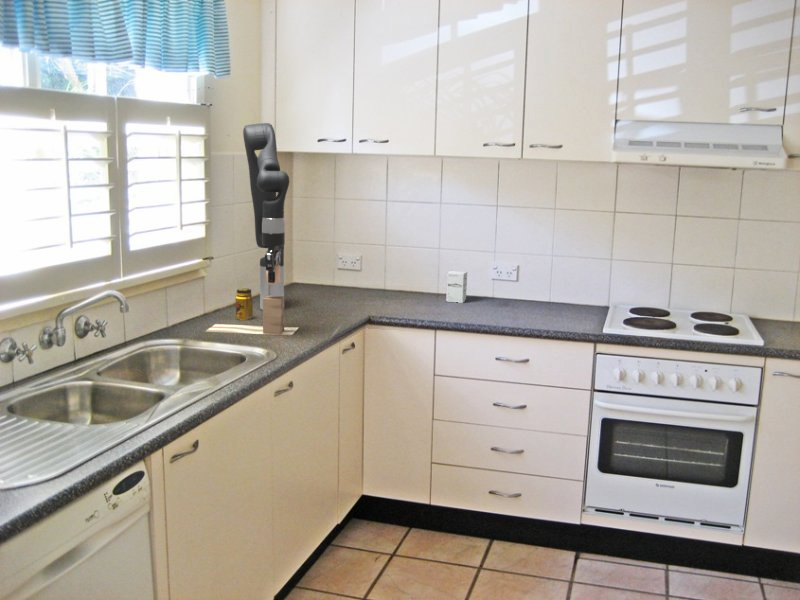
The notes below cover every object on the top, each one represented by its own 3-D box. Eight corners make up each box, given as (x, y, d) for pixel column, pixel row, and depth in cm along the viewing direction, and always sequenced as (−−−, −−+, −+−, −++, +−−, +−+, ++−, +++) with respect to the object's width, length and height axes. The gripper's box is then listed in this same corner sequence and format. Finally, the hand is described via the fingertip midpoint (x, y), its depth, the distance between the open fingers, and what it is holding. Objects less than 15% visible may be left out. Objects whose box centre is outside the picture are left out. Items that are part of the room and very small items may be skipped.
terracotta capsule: (267, 281, 288) (267, 264, 287) (281, 282, 288) (281, 264, 287) (264, 284, 283) (264, 266, 282) (278, 284, 283) (278, 266, 282)
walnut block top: (267, 312, 291) (267, 295, 289) (284, 313, 290) (284, 296, 289) (262, 316, 285) (262, 298, 284) (280, 316, 284) (280, 299, 283)
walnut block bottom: (267, 329, 292) (267, 312, 291) (284, 330, 291) (284, 313, 290) (263, 333, 286) (262, 316, 285) (280, 334, 285) (280, 316, 284)
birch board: (215, 326, 299) (215, 324, 299) (298, 330, 296) (298, 327, 296) (204, 334, 287) (204, 331, 287) (291, 338, 285) (291, 335, 285)
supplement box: (445, 302, 356) (446, 272, 354) (449, 299, 363) (450, 270, 361) (462, 303, 354) (463, 273, 352) (466, 300, 361) (467, 271, 359)
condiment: (231, 322, 307) (230, 289, 305) (244, 318, 315) (244, 286, 313) (247, 324, 304) (247, 291, 302) (260, 320, 312) (260, 288, 310)
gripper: (267, 228, 289) (267, 277, 293) (256, 233, 275) (257, 284, 279) (288, 229, 289) (288, 278, 292) (279, 233, 275) (279, 285, 278)
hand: (273, 281), depth 285 cm, fingers closed on terracotta capsule, 4 cm apart
